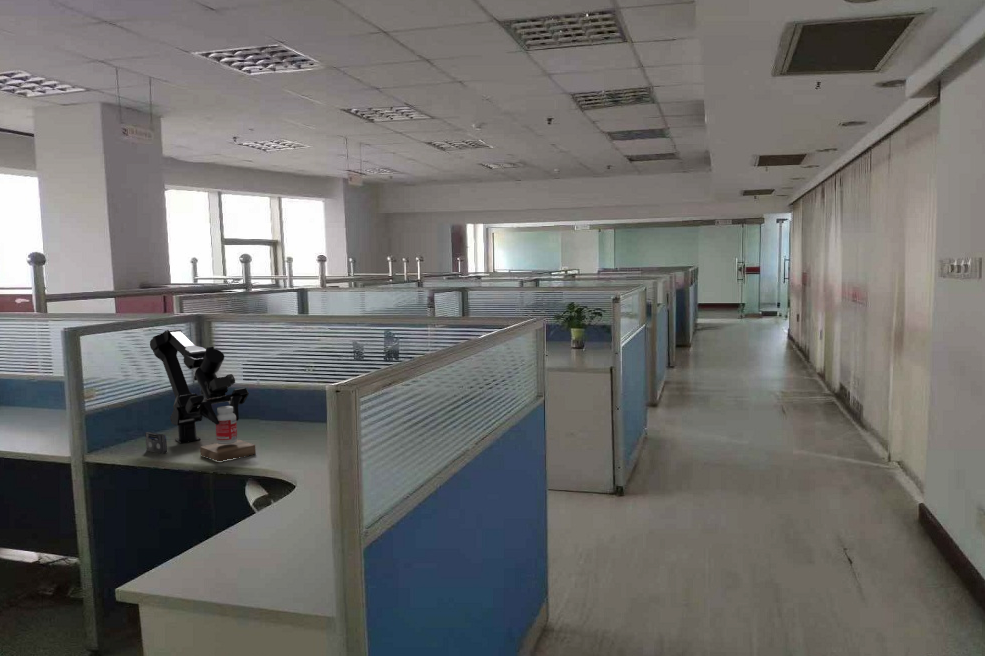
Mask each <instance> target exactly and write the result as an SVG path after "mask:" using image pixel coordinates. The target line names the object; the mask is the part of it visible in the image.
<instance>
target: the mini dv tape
mask: <svg viewBox="0 0 985 656" xmlns="http://www.w3.org/2000/svg"><path fill="white" fill-rule="evenodd" d="M144 437H145V446H146V448H145V449H146V451H147V452H151V453H156V454H161V453H164V454H167V453H168V444H167V436H166V434H163V433H162V434H161V433H157V432H150V431H148V432H145V436H144ZM166 452H167V453H166Z"/></svg>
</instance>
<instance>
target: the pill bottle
mask: <svg viewBox="0 0 985 656" xmlns="http://www.w3.org/2000/svg"><path fill="white" fill-rule="evenodd" d="M216 412H217V415H216V417H217V419H218V421H219V424H218V425H216V424H215V437H216V438H215V439H216V443H218V444H232V443H235V442H236V441H237V439H238V426H237V425H238V424H237V421H236V415H235V414H234V413H233V407H232V406H229V405H224V406H218V407H217V410H216Z"/></svg>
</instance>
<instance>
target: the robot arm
mask: <svg viewBox="0 0 985 656" xmlns="http://www.w3.org/2000/svg"><path fill="white" fill-rule="evenodd" d="M149 346H150V349H151V350H152V353H154V356H155V357H156V358H157V359H159V360H160V361H161V362H162V365H163V366H164V369H165V372H166V374H167V378H168V381H169V383H170V386H171V389H172V392H173V395H174V397H175V398H174V399H175V400H174V401H173V402H174V403H173V406H172V409H173V410H172V413H171V415H170V418H169V419H170V422H171V423H170V424H171V425H174V426H177V434H178V437H177V438H176V437H175V439H174V440H175V441H176V442H178V443H179V444H185V443H191V441H192V442H196V440H197V441H201V439H202V438H201V437H198V436H197V424H196V423H197V422H202V421H203V417H204V418H206V419H207V420H209V421H210V422H211V423H214V424H215V426H216V425H218V424H219V421H218V419H217V417H216V416H217V415H216V413H215V411H214V409H213V407H212V405H217V404H222V403H226V402H228V404H229V405H228V406H232V407H233V413H234V414H235V415H236V422H238V421H239V418H240V416H239V405H243V404H244V403H245V402H246V400H247V398H248V396H249V395H250V392H249V390H248V389H247V388H246V387H241V388H235V389H233V390H232V392H231V394H226V393H228V391H229V389H228V388H229V387H232V386H233V385H235V383H236V379H235V376H234V374H233V373H230V374H229V373H228V374H226V375H225V376H221V377H218V376H217V374H216V373H218V372H219V370H220V368H221V366H222V364H223V362H224V360H225V353H223V352H222V351H220V350H219V349H217V348H216V349H215V348H214V346H207V347H206V348H205V347H202V346H197V345H196V344H194V343H193V342H192V341H191V340H190V339H189V338H188V337H187V336H186V335H185V334H184V333H183V331H182V329H180V328H174V329H173V328H172V329H166V330H164V331H163V332H162V333H159V334H157V335H155V336H153V337H152V338H151V339H150V341H149ZM178 352H179V353H180V355H182V357H183V363H184V366H186V368H187V369H188V370H195V369H196V370H195V372H194V376H193V381H197V382H198V385H199V387H200V388H201V390H200V395H199V394H197V393H192V392H191V390H190V388H189V386H188V383H187V379H186V377H185V373H184V372H183V369H182V366H181V364H180V361H179V358H178Z"/></svg>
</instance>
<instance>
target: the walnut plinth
mask: <svg viewBox="0 0 985 656" xmlns="http://www.w3.org/2000/svg"><path fill="white" fill-rule="evenodd" d="M199 450H200V456H201V455H202V456H205V457H208V458H211V459H214V460H217V461H223V460H227V459H233V458H239V457H243V458H245V457H244V456H247V457H250V456H249V455H251V456H254V455H253V454H255V455H256V453H257V452H256V444H253V443H251V442H248V441H244V440H242V439H238V438H237V441H236V442H235V443H232V444H218V443H217V442H216V443H211V444H206V445H201V446H199ZM202 456H201V457H202ZM239 459H240V458H239Z"/></svg>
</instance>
